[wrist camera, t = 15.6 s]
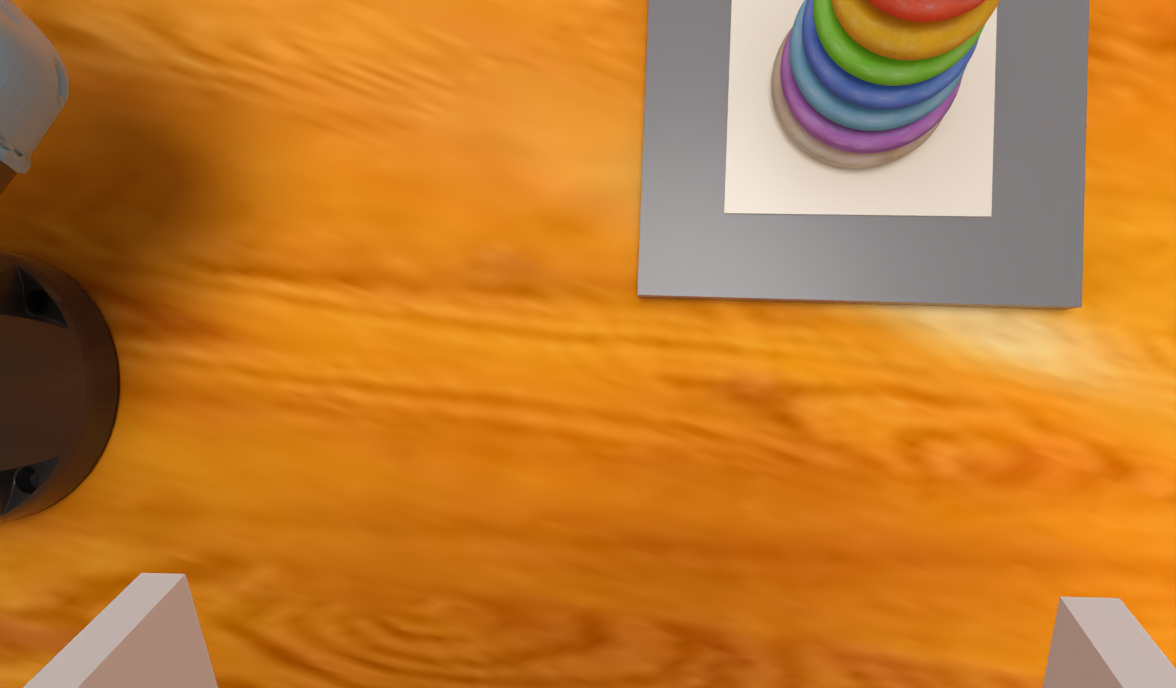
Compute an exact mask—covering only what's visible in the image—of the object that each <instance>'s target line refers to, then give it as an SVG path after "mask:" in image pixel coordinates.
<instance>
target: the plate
mask: <svg viewBox="0 0 1176 688" xmlns="http://www.w3.org/2000/svg"><path fill="white" fill-rule="evenodd" d="M803 2H804V0H649V5H648V31H647V58H646V84H645V110H644V136H643V162H642V188H641V214H640V240H639V267H638V293H637V295H638V296H639V298H673V299H709V300H744V301H780V302H816V303H852V304H887V305H923V306H959V307H995V308H1031V309H1072V308H1079V307H1082V271H1083V230H1084V189H1085V148H1086V106H1087V65H1088V24H1089V0H1000V1H999V3H998V5H997V7H996V9H995V10H994V12H993V13H992V15H991V16H990V18H989V19H988V20H987V22H986V24H985V26H984V28H983V30H982V32H981V34H980V37H979V40H978V43H977V46H976V48H975V51H974V53H973V55H972V57H971V59H970V60H969V62H968V63H967V66H966V69H965V71H964V74H963V76H962V80H961V84H960V87H959V90H958V93H957V95H956V97H955V99H954V101H953V103H952V105H951V107H950V108H949V110H948V111H947V113H946V114H945V115H944V117H943V119H942V121H941V122H940V124H939V125H938V127H937V128H936V129H935V131H934V132H933V133H932V135H931V136H930V137H929V138H928V139H927V140H926V141H925V142H924V143H923V144H922V145H920V146H919V147H918V148H917V149H915V150H914V151H912V152H911V153H909V154H908V155H906V156H904V157H902V158H900V159H898V160H896V161H893V162H890V163H887V164H884V165H880V166H875V167H870V168H843V167H838V166H833V165H830V164H827V163H824V162H822V161H820V160H818V159H816V158H814V157H812V156H810V155H809V154H807V153H806V152H805V151H803V150H802V149H801V148H800V147H798V146H797V145H796V144H795V143H794V142H793V141H792V140H791V138H790V137H789V136H788V135H787V133H786V132H785V130H784V129H783V127H782V125H781V123H780V122H779V120H778V117H777V114H776V112H775V109H774V105H773V101H772V93H771V77H772V70H773V65H774V61H775V58H776V55H777V52H778V50H779V47H780V45H781V43H782V41H783V40H784V38H785V37H786V35H787V33H788V32H789V31H790V29H791V28H792V27H793V24H794V21H795V18H796V15H797V13H798V11H799V9H800V7H801V5H802V4H803Z"/></svg>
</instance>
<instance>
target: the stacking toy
mask: <svg viewBox="0 0 1176 688" xmlns="http://www.w3.org/2000/svg"><path fill="white" fill-rule="evenodd" d="M999 1H1000V0H804V2H803V4H802V5H801V7H800V9H799V11H798V13H797V15H796V18H795V21H794V24H793V27H792V28H791V29H790V31H789V32H788V33H787V35H786V37H785V38H784V40H783V41H782V43H781V45H780V47H779V50H778V52H777V55H776V58H775V61H774V65H773V70H772V77H771V93H772V101H773V105H774V109H775V112H776V114H777V117H778V120H779V122H780V123H781V125H782V127H783V129H784V130H785V132H786V133H787V135H788V136H789V137H790V138H791V140H792V141H793V142H794V143H795V144H796V145H797V146H798V147H800V148H801V149H802V150H803V151H805V152H806V153H807V154H809V155H810V156H812V157H814V158H816V159H818V160H820V161H822V162H824V163H827V164H830V165H833V166H838V167H843V168H870V167H875V166H880V165H884V164H887V163H890V162H893V161H896V160H898V159H900V158H902V157H904V156H906V155H908V154H909V153H911V152H912V151H914V150H915V149H917V148H918V147H919V146H920V145H922V144H923V143H924V142H925V141H926V140H927V139H928V138H929V137H930V136H931V135H932V133H933V132H934V131H935V129H936V128H937V127H938V125H939V124H940V122H941V121H942V119H943V117H944V115H945V114H946V113H947V111H948V110H949V108H950V107H951V105H952V103H953V101H954V99H955V97H956V95H957V93H958V90H959V87H960V84H961V80H962V76H963V74H964V71H965V69H966V66H967V63H968V62H969V60H970V59H971V57H972V55H973V53H974V51H975V48H976V46H977V43H978V40H979V37H980V34H981V32H982V30H983V28H984V26H985V24H986V22H987V20H988V19H989V18H990V16H991V15H992V13H993V12H994V10H995V9H996V7H997V5H998V3H999Z"/></svg>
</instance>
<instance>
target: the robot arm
mask: <svg viewBox="0 0 1176 688" xmlns="http://www.w3.org/2000/svg"><path fill="white" fill-rule="evenodd" d="M69 90H70V82H69V76H68V72H67V69H66V67H65V64H64V62H63V60H62V58H61V56H60V54H59V53H58V51H57V50H56V49H55V47H54V46H53V44H52V43H51V42H50V41H49V39H48V38H47V37H46V36H45V35H44V34H43V32H42V31H41V30H40V29H39V28H38V27H37V26H36V25H35V24H34V23H33V22H32V21H31V20H30V19H29V18H28V17H27V16H26V15H25V14H24V13H23V12H22V11H21V10H20V9H19V8H18V7H17V6H16V5H15V4H14V3H13V2H11V1H10V0H0V194H1V193H2V192H3V191H4V189H5V188H6V187H7V185H8V184H9V183H10V181H11V180H12V179H13V178H14V176H15V175H16V174H17V173H20V174H25V173H26V172H27V171H28V170H29V168H30V166H31V160H30V156H31V155H32V153H33V152H34V150H35V149H36V147H37V146H38V145H39V143H40V142H41V140H42V139H43V137H44V136H45V134H46V133H47V132H48V130H49V129H50V127H51V126H52V124H53V123H54V121H55V120H56V119H57V117H58V116H59V114H60V113H61V111H62V110H63V108H64V106H65V105H66V102H67V99H68V96H69ZM117 396H118V370H117V361H116V356H115V351H114V347H113V343H112V340H111V337H110V334H109V331H108V328H107V326H106V324H105V321H104V319H103V317H102V316H101V314H100V312H99V310H98V309H97V307H96V305H95V304H94V302H93V301H92V300H91V298H90V297H89V296H88V294H87V293H86V292H85V291H84V290H83V289H82V288H81V287H80V286H79V284H78V283H76V282H75V281H74V280H73V279H72V278H71V277H70V276H68V275H67V274H66V273H64V272H63V271H61V270H60V269H58V268H57V267H55V266H53V265H51V264H49V263H47V262H45V261H43V260H40V259H38V258H35V257H32V256H28V255H24V254H19V253H13V252H6V251H0V522H4V521H9V520H13V519H18V518H22V517H26V516H29V515H32V514H35V513H37V512H40V511H42V510H44V509H46V508H48V507H50V506H52V505H53V504H55V503H57V502H58V501H60V500H61V499H62V498H64V497H65V496H66V495H67V494H69V493H70V492H71V491H72V490H73V489H74V488H75V487H76V486H77V485H78V484H79V483H80V482H81V481H82V480H83V479H84V478H85V477H86V475H87V474H88V473H89V471H90V470H91V469H92V467H93V466H94V464H95V463H96V461H97V460H98V458H99V456H100V454H101V452H102V450H103V448H104V446H105V444H106V442H107V439H108V436H109V434H110V431H111V428H112V424H113V421H114V416H115V412H116V405H117ZM23 688H218V686H217V682H216V679H215V675H214V672H213V668H212V665H211V661H210V658H209V654H208V651H207V647H206V644H205V640H204V637H203V633H202V630H201V626H200V623H199V619H198V616H197V612H196V609H195V605H194V602H193V599H192V595H191V592H190V588H189V585H188V581H187V578H186V574H169V573H141V574H140V575H139V576H138V577H137V578H136V579H135V580H134V581H133V582H131V583H130V584H129V585H128V586H127V587H126V588H125V589H124V590H123V591H122V592H121V593H120V594H119V595H118V596H117V597H116V598H115V599H114V600H113V601H112V602H111V603H110V604H109V605H108V606H107V607H106V608H105V609H104V610H103V611H101V612H100V613H99V614H98V615H97V616H96V617H95V618H94V619H93V620H92V621H91V622H90V623H89V624H88V625H87V626H86V627H85V628H84V629H83V630H82V631H81V632H80V633H79V634H78V635H77V636H76V637H75V638H74V639H73V640H71V641H70V642H69V643H68V644H67V645H66V646H65V647H64V648H63V649H62V650H61V651H60V652H59V653H58V654H57V655H56V656H55V657H54V658H53V659H52V660H51V661H50V662H49V663H48V664H47V665H46V666H45V667H44V668H43V669H41V670H40V671H39V672H38V673H37V674H36V675H35V676H34V677H33V678H32V679H31V680H30V681H29V682H28V683H27V684H26V685H25V686H24V687H23ZM1043 688H1176V668H1175V667H1174V666H1173V665H1172V663H1171V662H1170V661H1169V660H1168V658H1167V657H1166V656H1165V655H1164V653H1163V652H1162V651H1161V650H1160V648H1159V647H1158V646H1157V645H1156V643H1155V642H1154V641H1153V640H1152V638H1151V637H1150V636H1149V635H1148V633H1147V632H1146V631H1145V630H1144V628H1143V627H1142V626H1141V625H1140V623H1139V622H1138V621H1137V620H1136V618H1135V617H1134V616H1133V615H1132V613H1131V612H1130V611H1129V610H1128V608H1127V607H1126V606H1125V605H1124V603H1123V602H1122V601H1121V600H1120V598H1091V597H1060V600H1059V605H1058V610H1057V615H1056V621H1055V626H1054V631H1053V636H1052V641H1051V647H1050V652H1049V657H1048V662H1047V668H1046V673H1045V678H1044V683H1043Z"/></svg>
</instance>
